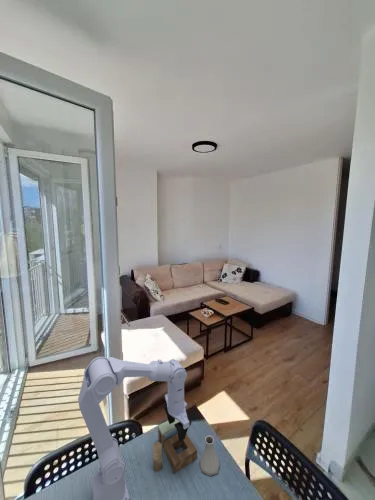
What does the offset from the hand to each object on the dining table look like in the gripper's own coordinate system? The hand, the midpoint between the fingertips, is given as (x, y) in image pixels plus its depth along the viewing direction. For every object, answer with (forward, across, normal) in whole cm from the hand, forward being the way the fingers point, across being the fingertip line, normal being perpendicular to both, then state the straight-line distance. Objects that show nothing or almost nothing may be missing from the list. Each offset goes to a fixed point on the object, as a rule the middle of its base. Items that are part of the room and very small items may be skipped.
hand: (176, 430), depth 79 cm
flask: (+10, -9, -8) cm, 16 cm away
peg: (+10, 0, +8) cm, 12 cm away
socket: (+10, 0, -1) cm, 10 cm away
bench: (+10, +6, -1) cm, 12 cm away
